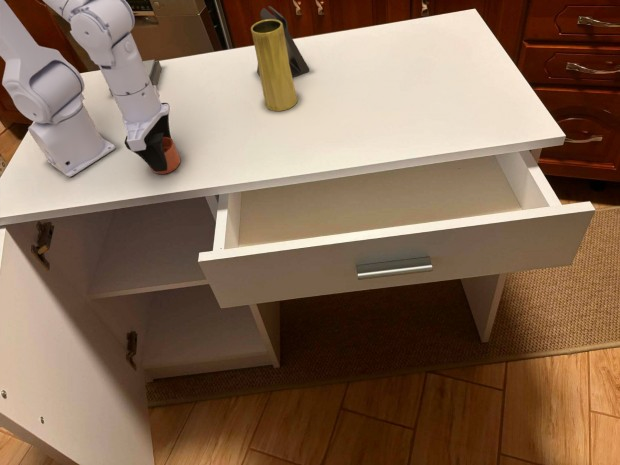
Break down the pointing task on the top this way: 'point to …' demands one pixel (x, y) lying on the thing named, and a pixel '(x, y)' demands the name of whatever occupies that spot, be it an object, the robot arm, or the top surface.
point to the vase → (274, 65)
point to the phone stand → (287, 45)
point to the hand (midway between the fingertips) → (163, 159)
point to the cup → (170, 155)
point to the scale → (152, 71)
